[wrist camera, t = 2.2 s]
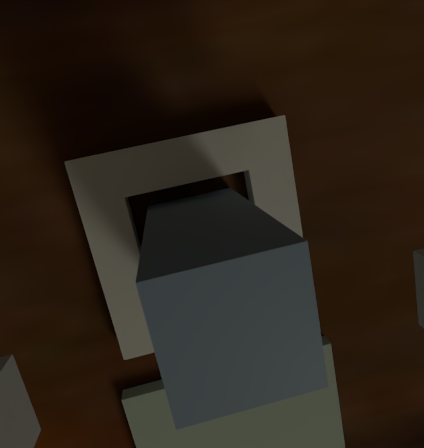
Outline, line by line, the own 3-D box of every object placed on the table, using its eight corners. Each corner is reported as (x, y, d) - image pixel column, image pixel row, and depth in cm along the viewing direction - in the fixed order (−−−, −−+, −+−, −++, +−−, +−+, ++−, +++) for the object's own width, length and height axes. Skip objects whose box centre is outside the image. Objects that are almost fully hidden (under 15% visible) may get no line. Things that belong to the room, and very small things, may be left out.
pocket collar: (70, 160, 20) (63, 161, 19) (276, 116, 22) (284, 115, 20) (126, 346, 23) (124, 360, 22) (304, 300, 25) (313, 310, 23)
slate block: (147, 206, 22) (135, 282, 10) (229, 187, 22) (307, 240, 11) (167, 283, 23) (176, 429, 11) (244, 264, 23) (328, 387, 12)
